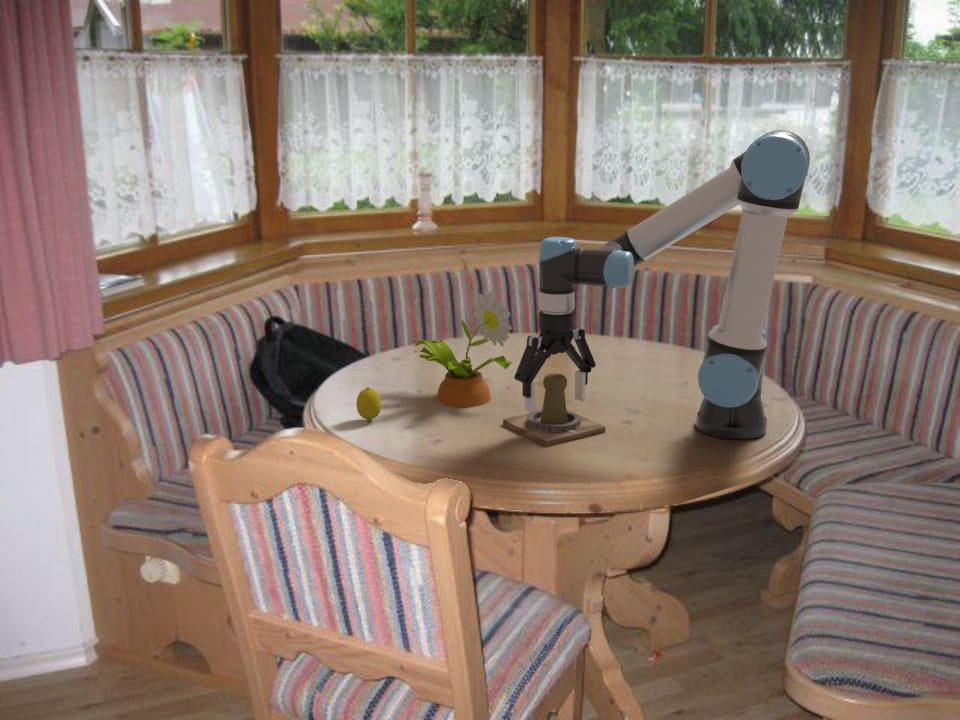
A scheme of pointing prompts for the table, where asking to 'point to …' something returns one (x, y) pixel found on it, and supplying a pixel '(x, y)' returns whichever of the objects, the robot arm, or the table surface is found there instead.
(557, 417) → the olive round stacked cylinder
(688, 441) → the table surface
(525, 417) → the socket board
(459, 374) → the decorative plant
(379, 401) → the lemon
